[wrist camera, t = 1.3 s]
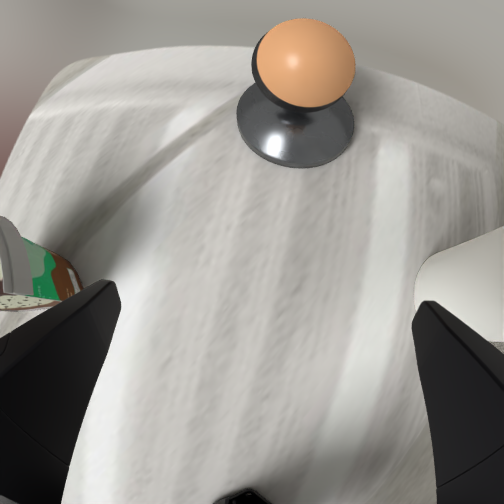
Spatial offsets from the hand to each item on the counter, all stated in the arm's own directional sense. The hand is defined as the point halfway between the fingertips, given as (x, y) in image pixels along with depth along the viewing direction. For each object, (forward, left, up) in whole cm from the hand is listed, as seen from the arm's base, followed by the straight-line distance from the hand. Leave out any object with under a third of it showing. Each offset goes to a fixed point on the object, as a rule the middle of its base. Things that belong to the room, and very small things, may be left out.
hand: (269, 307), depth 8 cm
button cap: (+9, -11, -7) cm, 17 cm away
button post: (+10, -12, -12) cm, 20 cm away
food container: (+14, +14, -13) cm, 23 cm away
